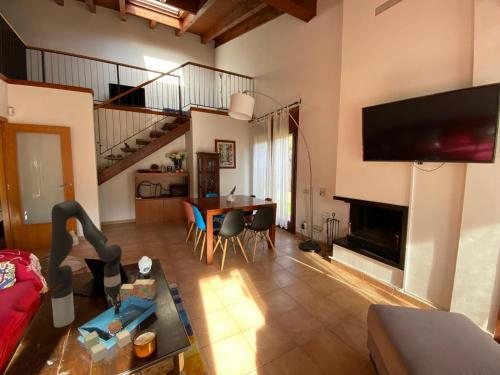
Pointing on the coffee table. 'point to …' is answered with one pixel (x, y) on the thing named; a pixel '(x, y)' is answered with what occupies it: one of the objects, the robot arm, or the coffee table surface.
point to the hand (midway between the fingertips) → (114, 310)
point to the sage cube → (91, 340)
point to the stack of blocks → (138, 289)
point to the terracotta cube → (114, 326)
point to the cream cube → (123, 338)
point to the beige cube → (98, 352)
